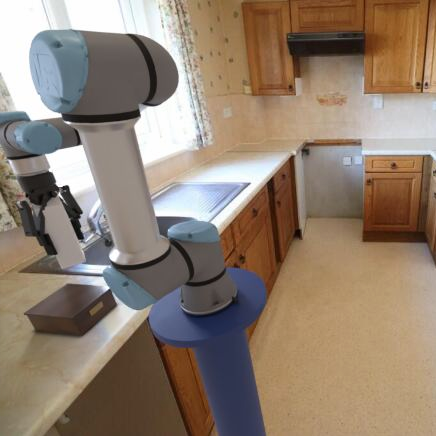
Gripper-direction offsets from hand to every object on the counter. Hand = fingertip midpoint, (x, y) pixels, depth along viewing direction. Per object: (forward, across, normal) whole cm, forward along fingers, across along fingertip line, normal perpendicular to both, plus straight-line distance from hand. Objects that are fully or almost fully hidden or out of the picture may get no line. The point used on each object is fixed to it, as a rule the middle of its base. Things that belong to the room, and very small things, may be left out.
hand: (66, 246), depth 95 cm
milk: (+6, 0, 0) cm, 6 cm away
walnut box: (+14, +13, +10) cm, 22 cm away
